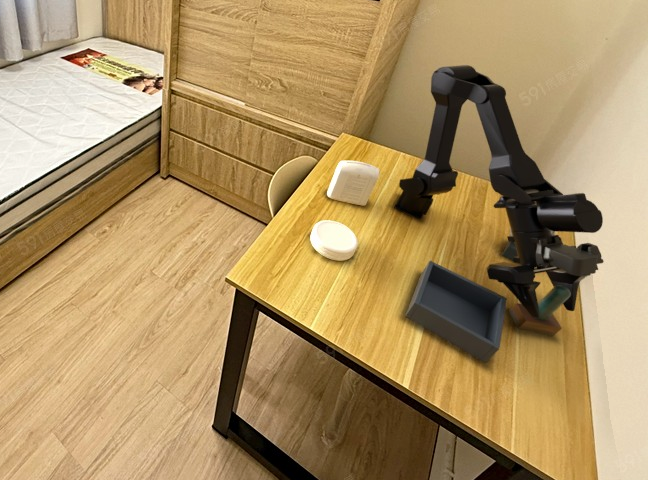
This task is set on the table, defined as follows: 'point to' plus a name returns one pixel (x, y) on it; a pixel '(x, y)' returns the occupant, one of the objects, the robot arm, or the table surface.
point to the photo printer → (353, 182)
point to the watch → (513, 248)
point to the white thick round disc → (333, 240)
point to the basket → (458, 311)
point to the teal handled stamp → (541, 313)
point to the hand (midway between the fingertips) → (553, 314)
